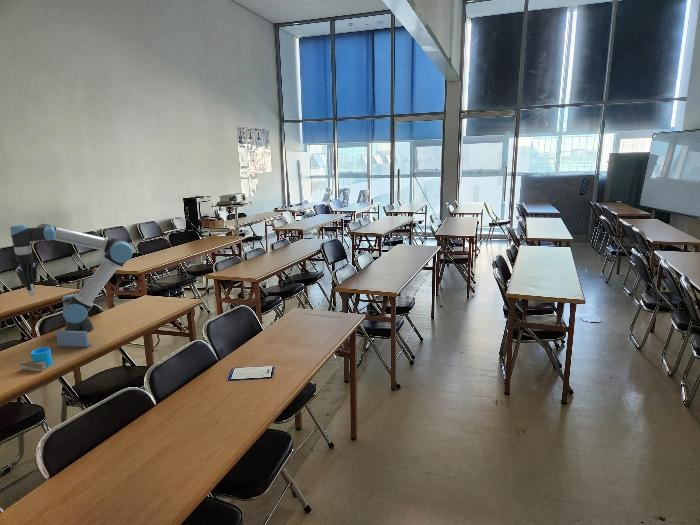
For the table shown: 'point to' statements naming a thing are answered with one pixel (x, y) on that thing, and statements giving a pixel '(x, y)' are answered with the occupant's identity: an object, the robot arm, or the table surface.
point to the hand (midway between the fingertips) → (32, 295)
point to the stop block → (32, 366)
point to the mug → (42, 356)
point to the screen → (73, 339)
